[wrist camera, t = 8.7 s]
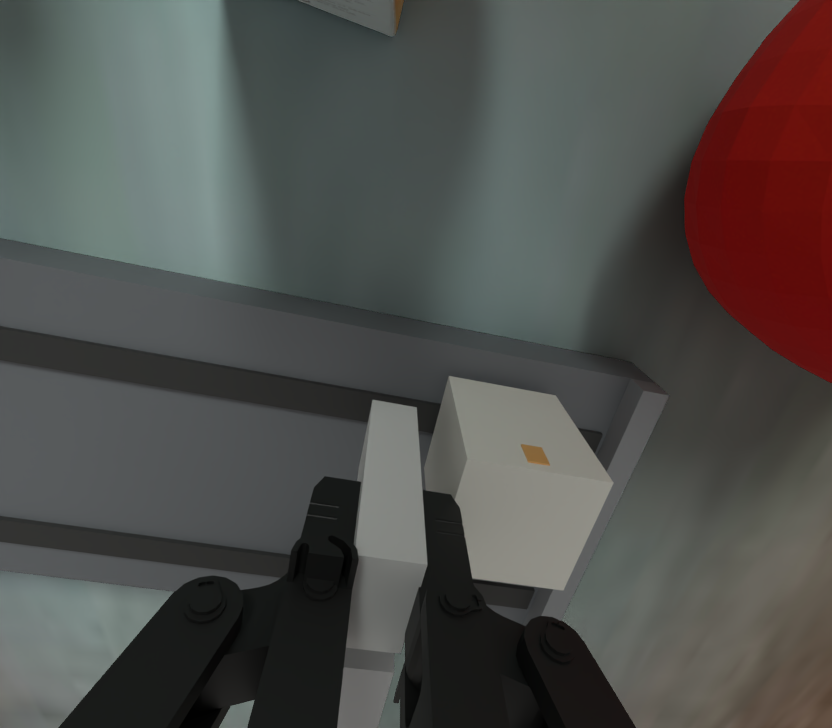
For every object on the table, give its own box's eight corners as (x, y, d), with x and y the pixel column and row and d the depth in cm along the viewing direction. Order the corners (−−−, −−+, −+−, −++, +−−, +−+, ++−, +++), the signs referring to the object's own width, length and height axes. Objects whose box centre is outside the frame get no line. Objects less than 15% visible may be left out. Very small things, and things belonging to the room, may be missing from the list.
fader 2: (449, 374, 16) (467, 457, 12) (555, 394, 17) (614, 481, 12) (424, 469, 18) (431, 574, 13) (522, 484, 18) (562, 591, 14)
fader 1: (300, 539, 19) (269, 658, 15) (395, 552, 20) (394, 671, 15) (289, 608, 21) (258, 735, 16) (378, 619, 21) (372, 745, 17)
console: (-120, 215, 16) (-227, 225, 13) (631, 362, 19) (669, 395, 16) (-49, 525, 21) (-115, 578, 19) (528, 600, 25) (544, 655, 22)
